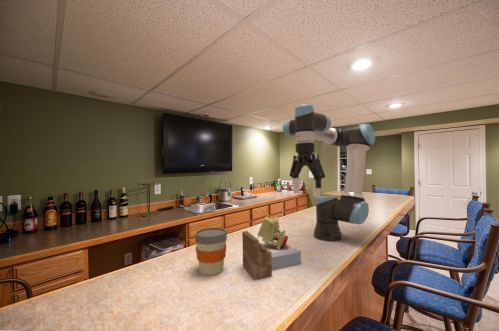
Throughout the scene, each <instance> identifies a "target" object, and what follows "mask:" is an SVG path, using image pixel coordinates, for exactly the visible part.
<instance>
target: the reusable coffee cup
mask: <svg viewBox="0 0 499 331" xmlns="http://www.w3.org/2000/svg"><path fill="white" fill-rule="evenodd" d="M227 240H228V236H227V230H226V229H225V228H222V227H206V228H202V229H201V228H200V229H199V230H197V231H196V232H195V235H194V242H195V245H196V246H195V253H196V259H197V261H198V266H199V272H200V274H201V275H204V276H209V277H210V276H215V275H216V276H217V275H218V274H220V273H222V272H223V271H224V264H225V263H224V262H225V259H226V253H227Z"/></svg>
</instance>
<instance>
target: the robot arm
mask: <svg viewBox="0 0 499 331" xmlns="http://www.w3.org/2000/svg"><path fill="white" fill-rule="evenodd" d="M314 108H315V107H314V106H313V105H312V104H309V103H305V104H300V105H297V106H296V107H295V109H294V119H290V120H287V121H285V122H284V123H283V125H282V131H283V134H284V135H285V136H287V137H294V136H295V153H297V155H293V156H292V158H293V159H292V163H291V168H290V173H289V177H290V178H292V189H293V190H292V192H293V194H300V176H299V175H300V173H301V172H302V169H303V167H305V166H306V167H307V168H308V169H309V172H310V173H311V174H312V176H313V180H312V186H313V187H312V189H313V191H312V194H313V198H316V200H315V211H316V212H315V213H316V214H315V215H316V217H315V218H316V219H315V220H316V223H315V226H314V230H313V237H314V238H315V239H318V240H320V241H328V242H335V241H337V242H338V241H340V240H342V238H343V234H342V232H341V228H340V225H339V222H344V223H349V224H352V225H353V224H354V225H362V224H363V223H365V222H366V220H367V218H368V216H369V211H370V208H369V204H368V202H367V201H366V198H365V197H364V196H363V190H364V188H363V187H364V179H365V177H364V176H365V168H366V157H367V152H368V151H369V150H370V148H371V145H372V146H373V145H374V144H375V142H376V135H375V134H376V133H375V131H374V129H373V127H372V125H371V124H370V123H359V124H354V125H348V126H341V127H335V128H334V127H331V125H332V120H331V118H330V117H329V116H327V115H325V114H322V113H318V112H315V109H314ZM315 141H320V142H323V143H324V144H326V145H329V146H335V147H341V148H344V147H345V148H346V150H348V154H347V161H346V162H347V164H346V173H345V181H344V189H343V193H342V194H340V198H339V197H338V196H337V195H324V196H321V188H322V179H324V178H326V174H325V171H324V168H323V166H322V163H321V161H320V156H319V155H320V153H315V151H316V150H315V143H314V142H315Z"/></svg>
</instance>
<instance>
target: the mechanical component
mask: <svg viewBox="0 0 499 331" xmlns="http://www.w3.org/2000/svg"><path fill="white" fill-rule="evenodd" d="M280 227H281V226H280V222H279V217H276V216H274V217H268V216H265V217H264V218H263V220H262V223H261V225H260V227H259V229H258V232H257V237H256V238H257V239H258V240H259V238H262V239H261V241H262V242H264V244H265V245H269V244H271V245H273V246H277V247H276V249H277V250H278V251H281V250H280V249H281V247H282V248H283V249H284V248H285V246H286V245H287V242H288V238H289V236H288V235H286V234H287V233H286V231H287V230H285V229H283V230H282V231H281V230H280Z"/></svg>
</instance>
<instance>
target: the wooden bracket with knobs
mask: <svg viewBox="0 0 499 331" xmlns="http://www.w3.org/2000/svg"><path fill="white" fill-rule="evenodd" d="M241 234H242V235H241V236H242V266H243V268H244V269H245V270H246V272H247V273H248V274H249V276H250V277H251V278H252V279H253V280H254V281H257V280H262V279H266V278H269V277H273V270H272V257H271V253H272V251H271V250H270V249H269V248H267V247H265V246H262V243H261V242H260V240H259V238H258V237H255V236H254V235H253V234H251V233H250V232H248V231H247V230H245V231H242V232H241ZM257 238H258V239H257Z"/></svg>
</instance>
